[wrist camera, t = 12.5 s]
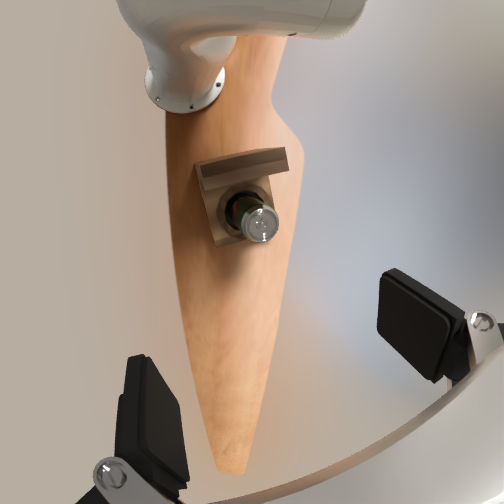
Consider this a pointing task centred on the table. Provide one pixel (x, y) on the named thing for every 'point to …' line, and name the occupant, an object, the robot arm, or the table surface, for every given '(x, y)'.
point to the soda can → (253, 217)
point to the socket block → (236, 186)
